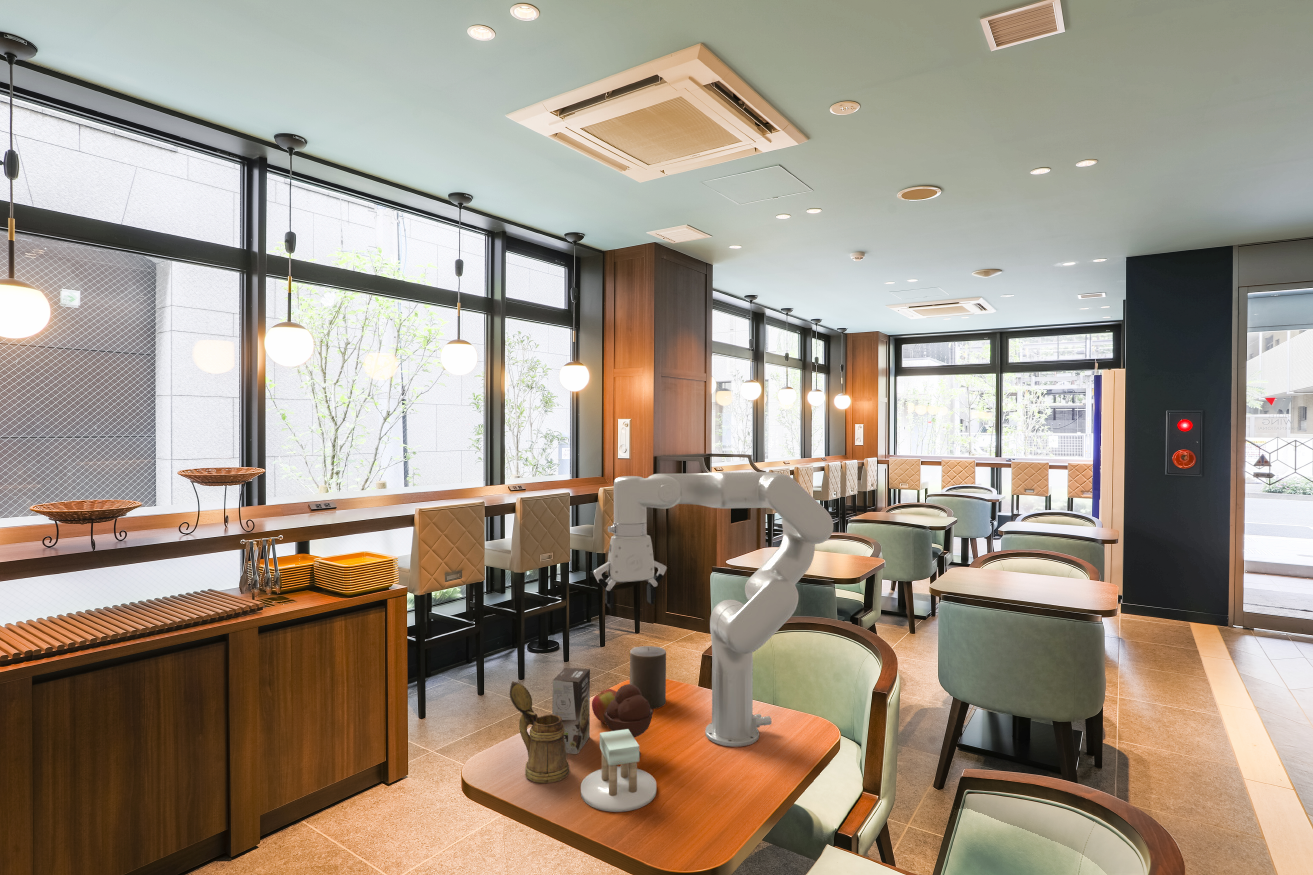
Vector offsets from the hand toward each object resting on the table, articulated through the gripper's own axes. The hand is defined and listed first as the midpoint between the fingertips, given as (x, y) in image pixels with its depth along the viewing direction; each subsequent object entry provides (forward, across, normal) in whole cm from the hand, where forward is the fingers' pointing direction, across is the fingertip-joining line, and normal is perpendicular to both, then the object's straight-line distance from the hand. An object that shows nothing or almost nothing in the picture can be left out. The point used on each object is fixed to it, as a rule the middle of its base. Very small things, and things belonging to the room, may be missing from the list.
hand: (630, 604), depth 154 cm
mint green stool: (+31, -9, -19) cm, 37 cm away
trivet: (+32, -9, -19) cm, 38 cm away
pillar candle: (+32, +12, +22) cm, 40 cm away
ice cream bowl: (+32, -2, -5) cm, 33 cm away
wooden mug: (+32, -22, -5) cm, 39 cm away
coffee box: (+32, -13, +4) cm, 35 cm away
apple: (+32, -2, +13) cm, 35 cm away
